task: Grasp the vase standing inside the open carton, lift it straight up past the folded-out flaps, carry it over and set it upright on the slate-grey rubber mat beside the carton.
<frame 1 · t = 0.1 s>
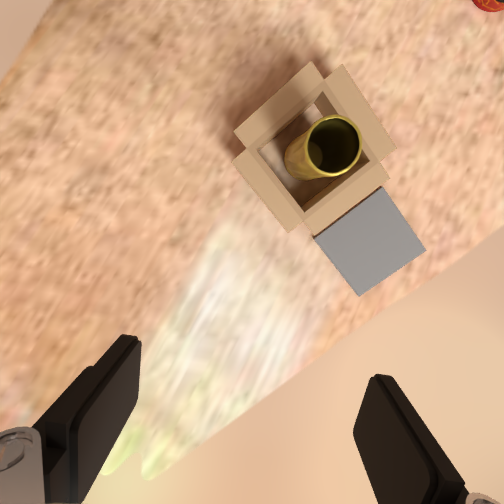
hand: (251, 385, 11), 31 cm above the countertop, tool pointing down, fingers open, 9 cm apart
vase: (305, 158, 38), resting in carton
carton: (306, 158, 38), on the countertop
mat: (368, 244, 41), on the countertop
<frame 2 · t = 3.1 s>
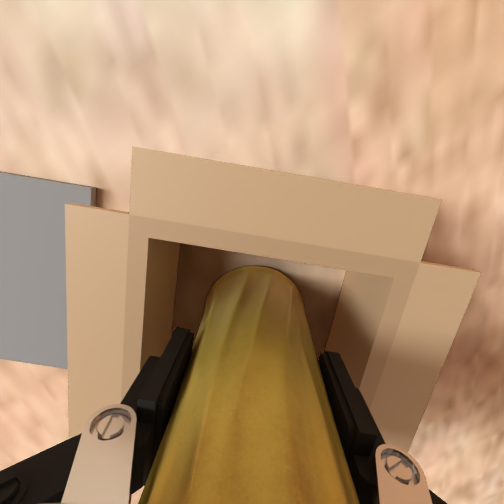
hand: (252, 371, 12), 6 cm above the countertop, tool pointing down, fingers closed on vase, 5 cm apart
vase: (254, 309, 17), resting in carton, touching gripper
carton: (254, 311, 17), on the countertop
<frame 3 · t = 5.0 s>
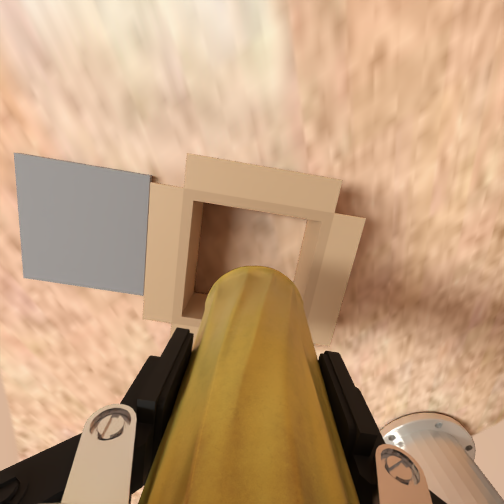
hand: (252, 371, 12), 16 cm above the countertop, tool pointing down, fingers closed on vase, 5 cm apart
vase: (254, 309, 17), point 10 cm above the countertop, touching gripper
carton: (248, 254, 27), on the countertop
mat: (86, 228, 26), on the countertop
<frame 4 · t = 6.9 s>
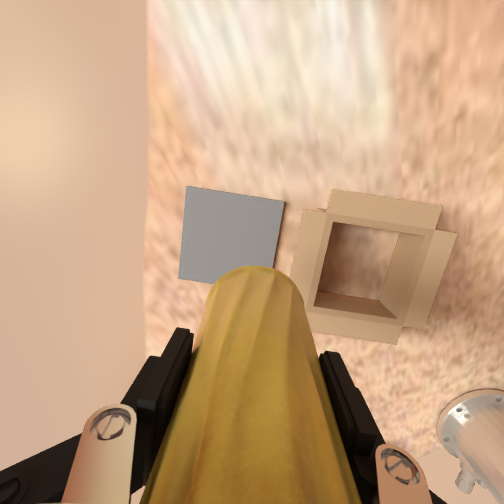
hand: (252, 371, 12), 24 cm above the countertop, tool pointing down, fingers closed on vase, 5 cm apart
vase: (254, 309, 17), point 18 cm above the countertop, touching gripper
carton: (351, 259, 35), on the countertop
mat: (229, 240, 35), on the countertop
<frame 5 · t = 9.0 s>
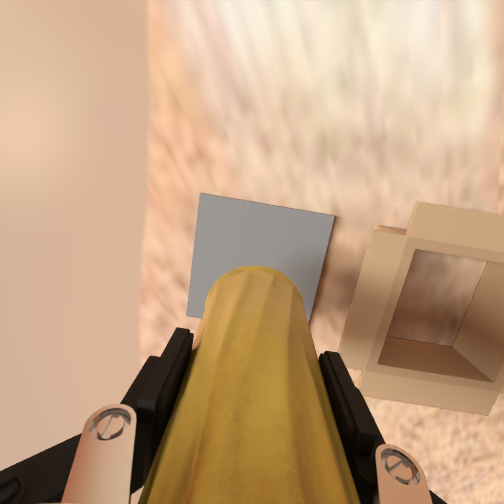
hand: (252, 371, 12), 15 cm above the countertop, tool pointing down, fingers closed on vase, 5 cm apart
vase: (254, 309, 17), point 9 cm above the countertop, touching gripper
carton: (420, 294, 26), on the countertop
mat: (256, 267, 26), on the countertop
when the fingers open (8 cm above the countertop, at t = 10.7 s): vase drops 2 cm, resting on mat.
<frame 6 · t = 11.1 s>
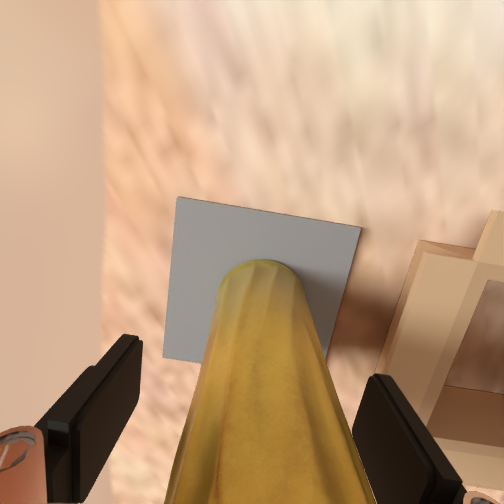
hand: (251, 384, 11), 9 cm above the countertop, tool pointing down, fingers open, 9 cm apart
vase: (260, 299, 19), resting on mat
carton: (470, 329, 20), on the countertop
mat: (254, 294, 19), on the countertop
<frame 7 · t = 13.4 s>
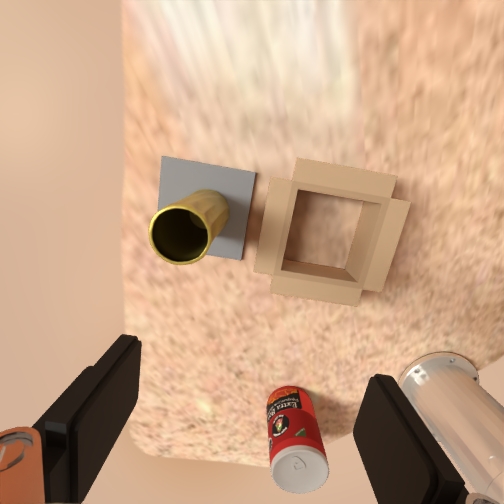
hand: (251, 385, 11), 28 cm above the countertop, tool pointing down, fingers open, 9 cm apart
vase: (207, 212, 36), resting on mat
canned food: (288, 402, 46), on the countertop
carton: (319, 229, 37), on the countertop
mat: (204, 210, 36), on the countertop
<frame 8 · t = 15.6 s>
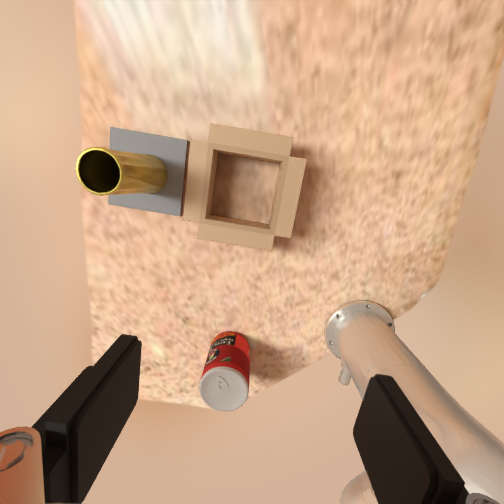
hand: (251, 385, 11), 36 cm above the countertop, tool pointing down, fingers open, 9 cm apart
vase: (149, 174, 44), resting on mat
canned food: (230, 347, 52), on the countertop
carton: (244, 189, 44), on the countertop
mat: (147, 173, 44), on the countertop
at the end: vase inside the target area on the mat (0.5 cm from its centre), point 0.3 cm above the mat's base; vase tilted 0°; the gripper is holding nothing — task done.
